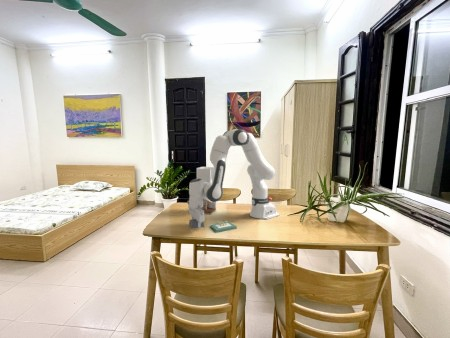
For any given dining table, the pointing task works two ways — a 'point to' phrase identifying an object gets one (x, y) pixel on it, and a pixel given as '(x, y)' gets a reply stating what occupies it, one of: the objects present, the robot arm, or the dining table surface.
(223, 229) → the header board
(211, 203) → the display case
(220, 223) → the header pins
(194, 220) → the block
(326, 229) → the dining table surface
